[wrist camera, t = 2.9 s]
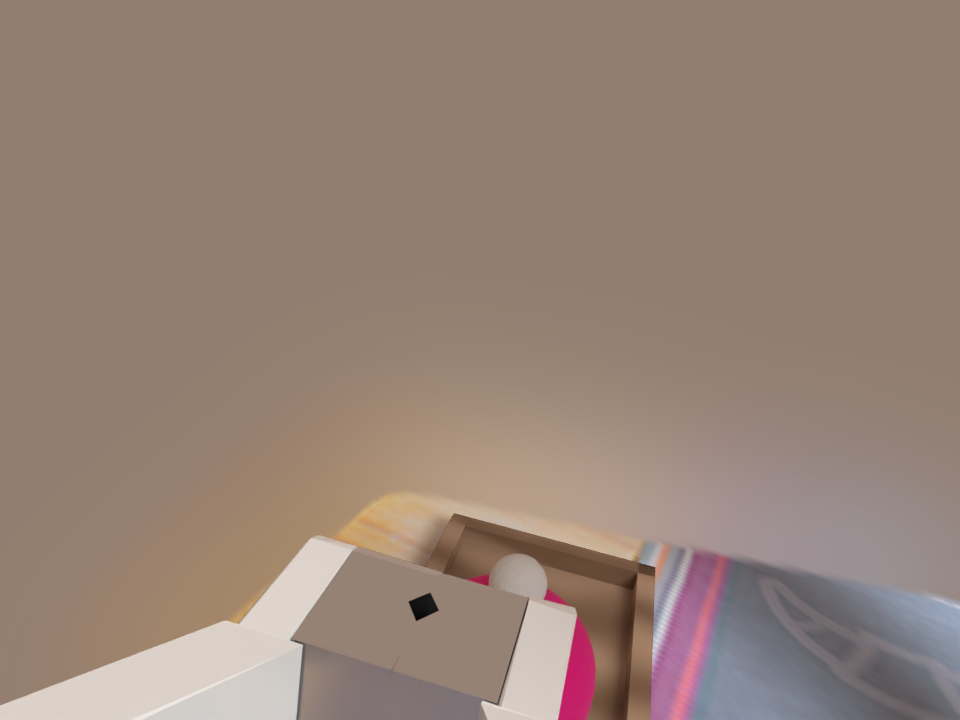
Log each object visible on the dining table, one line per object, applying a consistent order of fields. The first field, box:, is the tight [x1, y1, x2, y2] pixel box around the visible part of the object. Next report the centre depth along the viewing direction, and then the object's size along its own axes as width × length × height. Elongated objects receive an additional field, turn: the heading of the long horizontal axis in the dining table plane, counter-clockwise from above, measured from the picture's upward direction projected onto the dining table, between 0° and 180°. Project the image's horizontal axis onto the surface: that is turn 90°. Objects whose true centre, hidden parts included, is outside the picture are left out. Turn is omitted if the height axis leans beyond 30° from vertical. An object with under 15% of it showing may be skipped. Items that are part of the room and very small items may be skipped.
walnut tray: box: [426, 513, 655, 720], centre depth 44 cm, size 23×15×2 cm, turn 166°
